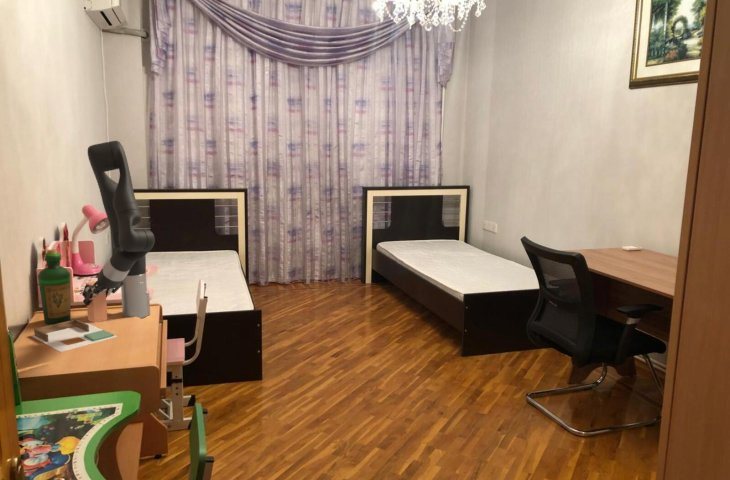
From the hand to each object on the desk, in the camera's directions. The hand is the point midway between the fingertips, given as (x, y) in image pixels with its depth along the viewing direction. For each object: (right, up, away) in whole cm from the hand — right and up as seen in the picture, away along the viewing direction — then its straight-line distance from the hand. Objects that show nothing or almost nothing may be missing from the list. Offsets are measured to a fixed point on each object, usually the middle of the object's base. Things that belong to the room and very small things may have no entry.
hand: (93, 301), depth 195 cm
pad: (+1, -12, +1) cm, 12 cm away
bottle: (-21, -10, +17) cm, 29 cm away
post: (+1, -6, 0) cm, 6 cm away
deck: (-7, -13, +1) cm, 15 cm away
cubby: (-12, -12, +3) cm, 17 cm away
